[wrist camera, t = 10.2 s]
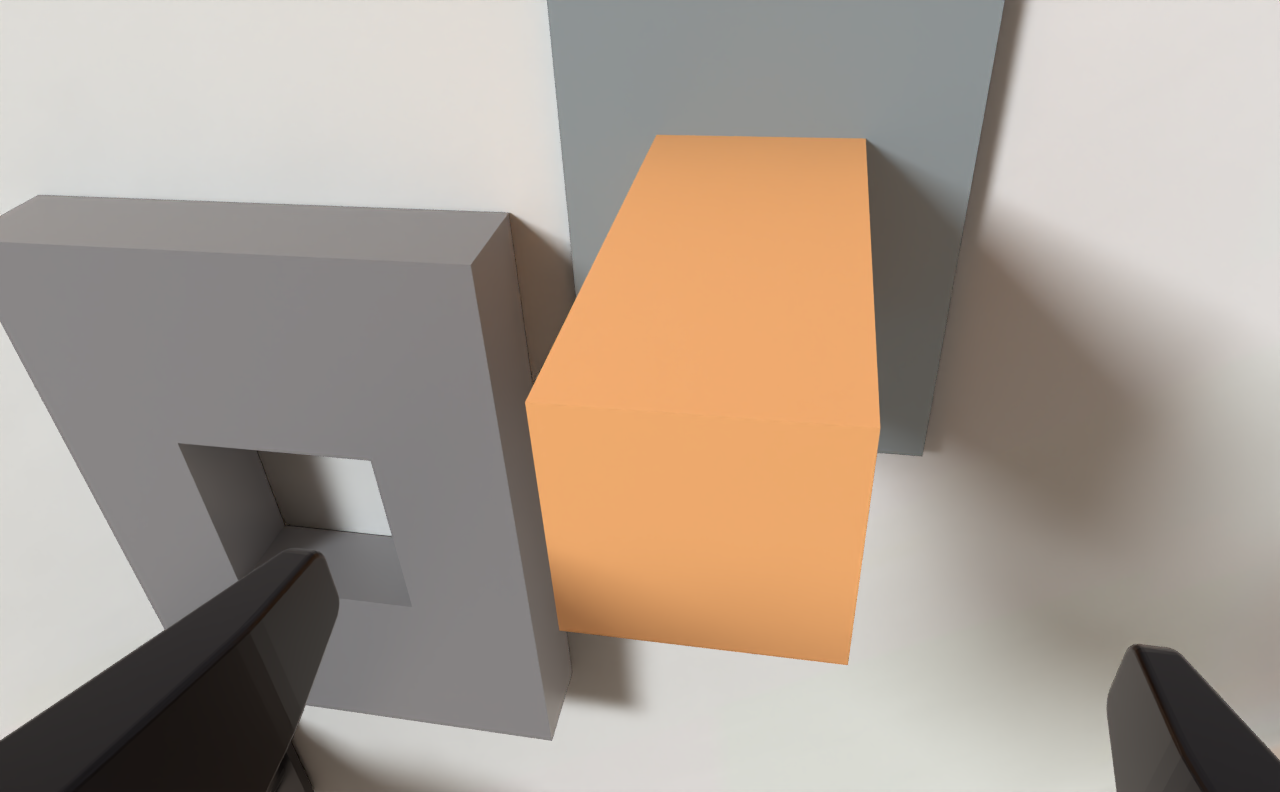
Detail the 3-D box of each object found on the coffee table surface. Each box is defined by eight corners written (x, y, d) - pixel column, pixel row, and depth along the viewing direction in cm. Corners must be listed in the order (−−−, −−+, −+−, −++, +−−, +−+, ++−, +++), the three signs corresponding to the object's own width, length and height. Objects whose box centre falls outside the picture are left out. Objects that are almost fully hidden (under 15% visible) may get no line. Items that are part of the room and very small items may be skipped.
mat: (921, 443, 21) (922, 456, 21) (593, 417, 23) (588, 429, 22) (1012, -76, 15) (1017, -71, 14) (548, -67, 16) (541, -62, 16)
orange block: (847, 321, 19) (847, 664, 12) (662, 311, 20) (558, 630, 13) (865, 138, 17) (880, 428, 10) (656, 134, 17) (525, 402, 10)
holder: (572, 672, 29) (552, 740, 27) (238, 628, 31) (196, 689, 29) (508, 212, 20) (470, 264, 18) (38, 195, 22) (-44, 239, 20)
